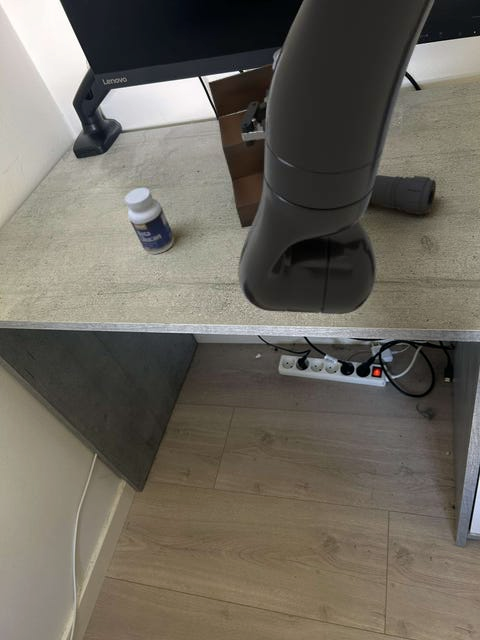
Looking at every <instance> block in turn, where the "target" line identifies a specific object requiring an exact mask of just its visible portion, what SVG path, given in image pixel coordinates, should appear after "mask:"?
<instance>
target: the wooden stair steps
mask: <svg viewBox="0 0 480 640" xmlns="http://www.w3.org/2000/svg"><path fill="white" fill-rule="evenodd" d="M272 67H273V63H270V64H267V65H262V66H260V67H256V68H253V69H249V70H246V71H242V72H239V73H236V74H232V75H229V76H225V77H222V78H219V79H215V80H212V81H208V83H207V84H208V87H209V91H210V95H211V98H212V101H213V105H214V108H215V113H216V116H217V118H218V119H217V120H218V126H219V133H220V134H219V135H220V141H221V147H222V152H223V155H224V158H225V162H226V165H227V168H228V173H229V176H230V179H231V185H232V191H233V197H234V202H235V203H234V204H235V209H236V213H237V217H238V220H239V222H240V226H241V228H246V227H251V225H252V223H253V221H254V218H255V216H256V213H257V210H258V207H259V204H260V200H261V196H262V190H263V180H264V149H265V139H259V140H256V141H255V144H254V145H253V146H251V147H245V145H244V141H243V138H242V134H241V129H240V123H241V121H242V119H243V117H244V115H245V112H246V110H247V108H248V106H249V104H250V103H252V102H256V101H257V102H259V104H261V103H263V102H264V98H266V91H267V90H268V89H269V87H270V83H271V78H272V74H273V71H272ZM265 123H266V119H264V120H263V124H262V126H261V127H263V126H264V124H265Z"/></svg>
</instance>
